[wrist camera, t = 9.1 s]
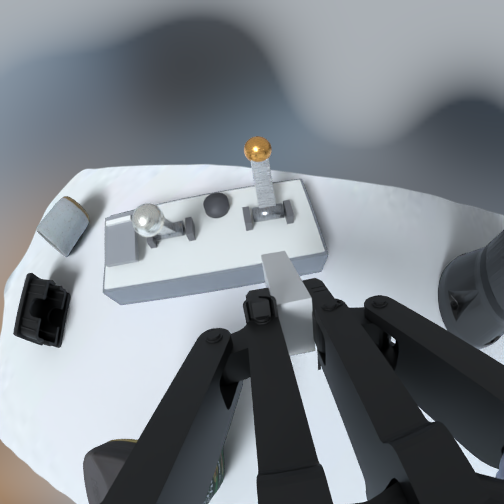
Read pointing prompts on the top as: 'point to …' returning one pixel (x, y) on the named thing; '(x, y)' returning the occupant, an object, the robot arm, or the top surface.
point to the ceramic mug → (64, 225)
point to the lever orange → (262, 180)
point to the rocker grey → (120, 240)
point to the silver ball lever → (155, 223)
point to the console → (219, 245)
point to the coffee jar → (112, 460)
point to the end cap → (42, 312)
